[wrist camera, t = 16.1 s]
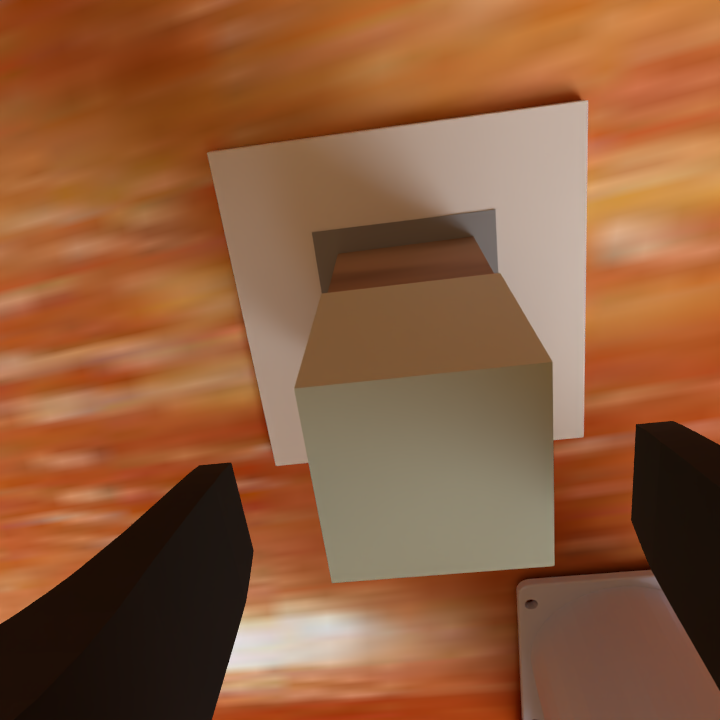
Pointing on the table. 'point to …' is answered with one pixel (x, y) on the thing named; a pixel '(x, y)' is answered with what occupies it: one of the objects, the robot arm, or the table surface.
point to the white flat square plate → (409, 231)
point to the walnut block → (409, 264)
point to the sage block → (429, 430)
